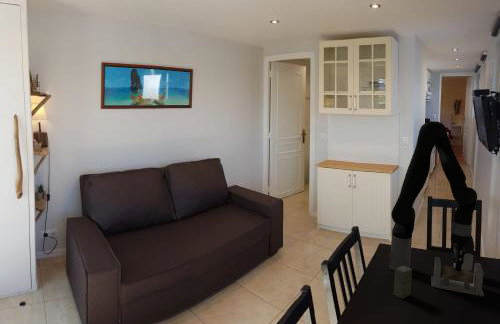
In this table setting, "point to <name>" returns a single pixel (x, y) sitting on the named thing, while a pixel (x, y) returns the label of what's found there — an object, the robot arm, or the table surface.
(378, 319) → the table surface
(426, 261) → the table surface
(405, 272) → the skincare box
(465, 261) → the wine bottle
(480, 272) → the frame
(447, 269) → the brown wooden block
